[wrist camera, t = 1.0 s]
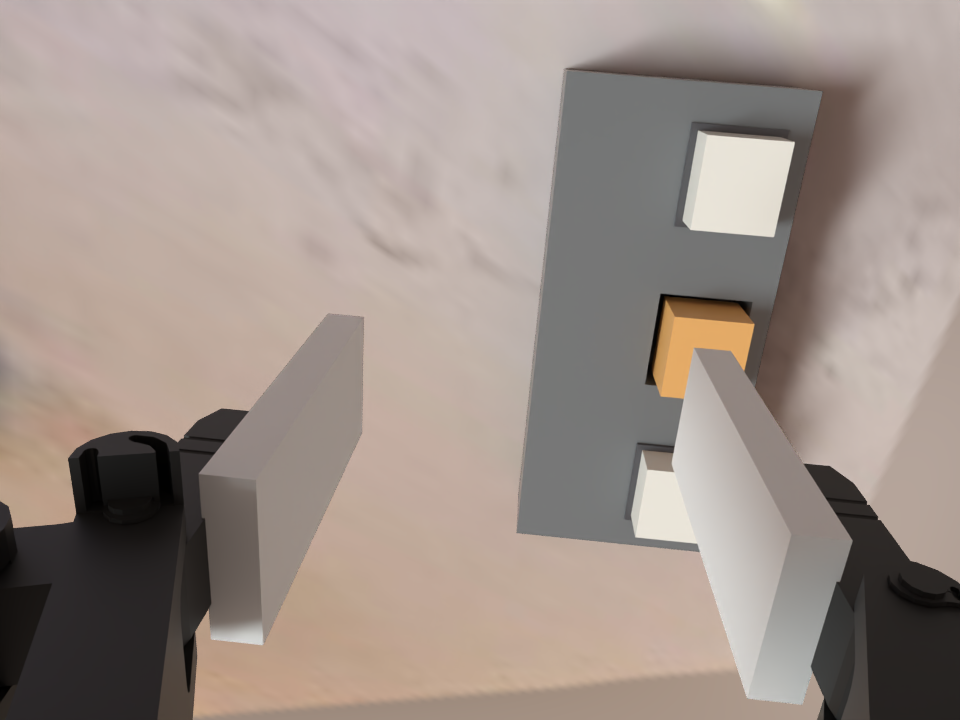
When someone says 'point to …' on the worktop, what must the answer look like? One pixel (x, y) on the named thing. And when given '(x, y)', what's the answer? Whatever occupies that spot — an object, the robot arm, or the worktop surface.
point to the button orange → (696, 338)
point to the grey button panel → (647, 283)
